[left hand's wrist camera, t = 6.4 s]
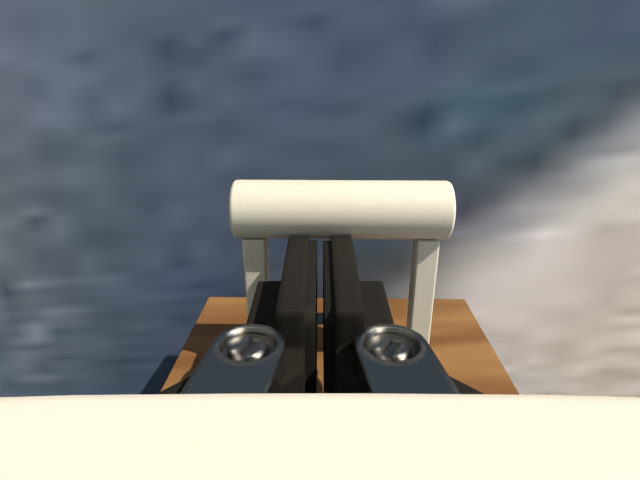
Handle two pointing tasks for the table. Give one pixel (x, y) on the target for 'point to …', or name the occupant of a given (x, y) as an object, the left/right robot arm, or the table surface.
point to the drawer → (360, 223)
